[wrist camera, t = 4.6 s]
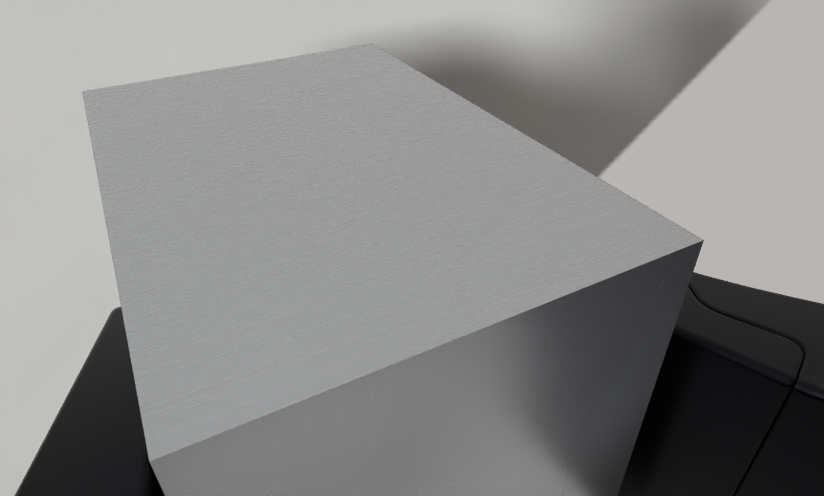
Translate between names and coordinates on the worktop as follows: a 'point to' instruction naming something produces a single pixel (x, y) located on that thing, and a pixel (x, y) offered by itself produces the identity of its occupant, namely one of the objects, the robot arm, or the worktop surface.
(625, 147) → the worktop surface
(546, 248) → the steel block
